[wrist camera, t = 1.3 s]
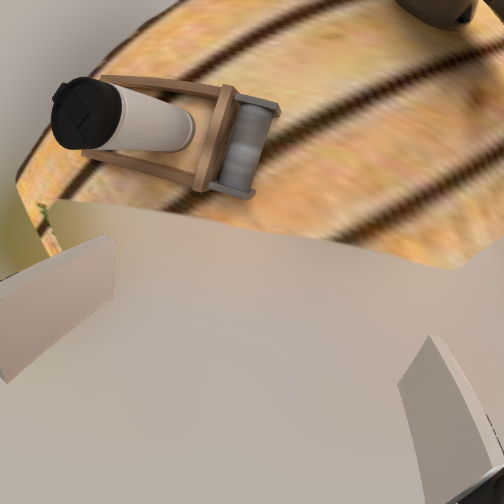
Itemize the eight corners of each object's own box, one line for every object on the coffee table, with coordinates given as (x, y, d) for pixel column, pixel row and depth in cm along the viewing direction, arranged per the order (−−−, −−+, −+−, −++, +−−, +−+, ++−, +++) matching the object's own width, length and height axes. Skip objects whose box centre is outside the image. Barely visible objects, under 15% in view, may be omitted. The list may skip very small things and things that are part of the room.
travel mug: (176, 98, 34) (77, 59, 15) (204, 130, 35) (110, 104, 16) (146, 129, 36) (38, 117, 17) (172, 161, 37) (65, 166, 18)
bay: (112, 78, 34) (93, 72, 29) (282, 106, 32) (279, 97, 27) (92, 155, 38) (72, 156, 34) (252, 201, 36) (244, 206, 32)
